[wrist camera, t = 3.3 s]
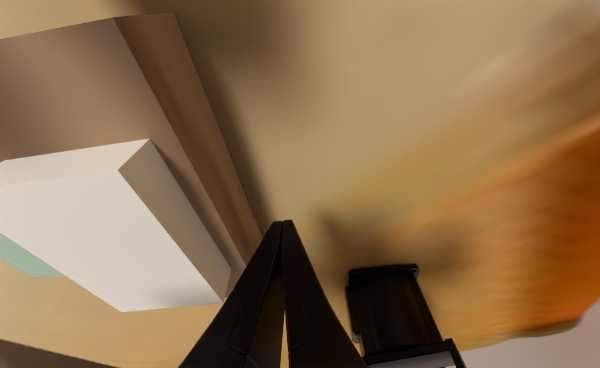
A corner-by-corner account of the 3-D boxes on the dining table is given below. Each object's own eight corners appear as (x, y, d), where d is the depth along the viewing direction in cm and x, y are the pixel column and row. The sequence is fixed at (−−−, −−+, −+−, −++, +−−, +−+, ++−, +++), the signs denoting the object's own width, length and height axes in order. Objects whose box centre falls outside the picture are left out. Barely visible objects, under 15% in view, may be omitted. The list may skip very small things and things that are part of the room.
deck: (173, 11, 9) (113, 17, 6) (266, 246, 19) (261, 294, 16) (-44, 53, 10) (-195, 77, 7) (154, 258, 20) (129, 306, 17)
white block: (150, 138, 8) (117, 170, 7) (231, 269, 14) (223, 302, 12) (4, 160, 9) (-58, 194, 7) (139, 278, 14) (121, 312, 13)
